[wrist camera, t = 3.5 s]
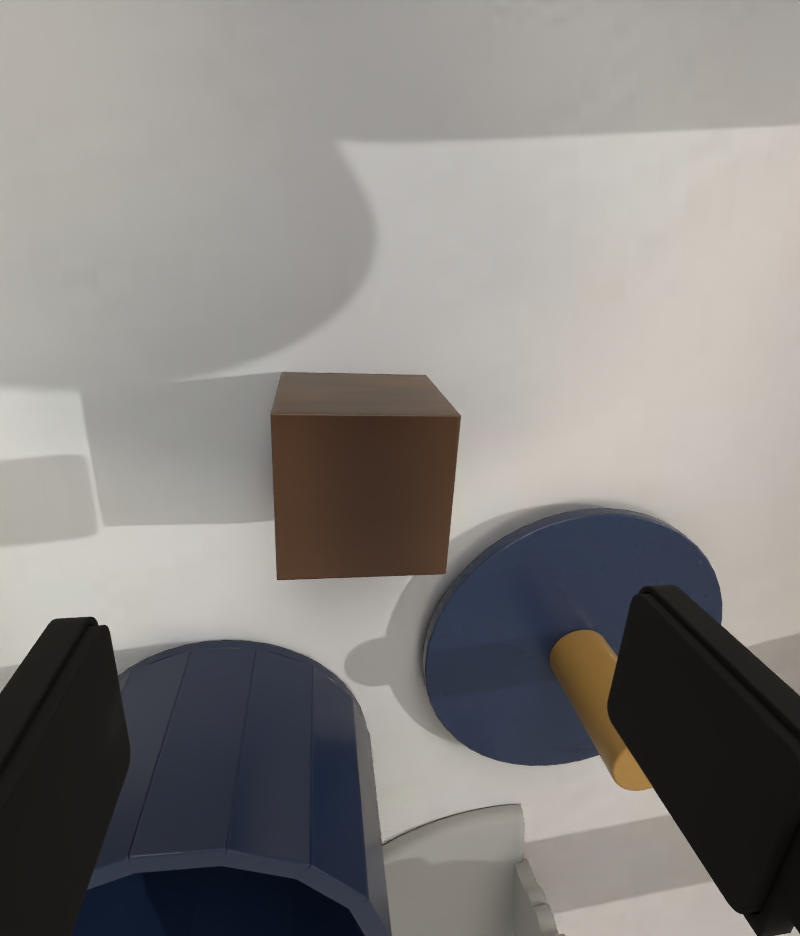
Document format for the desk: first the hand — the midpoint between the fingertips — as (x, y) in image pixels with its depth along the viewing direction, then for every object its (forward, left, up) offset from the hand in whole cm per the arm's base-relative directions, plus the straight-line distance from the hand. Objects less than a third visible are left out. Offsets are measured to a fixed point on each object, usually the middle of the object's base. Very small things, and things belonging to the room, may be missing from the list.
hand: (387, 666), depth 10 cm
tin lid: (+12, +6, -10) cm, 17 cm away
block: (0, 0, -11) cm, 11 cm away
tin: (+12, -10, -11) cm, 19 cm away
